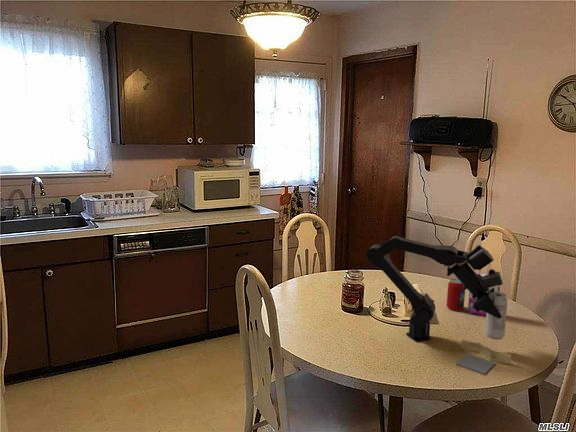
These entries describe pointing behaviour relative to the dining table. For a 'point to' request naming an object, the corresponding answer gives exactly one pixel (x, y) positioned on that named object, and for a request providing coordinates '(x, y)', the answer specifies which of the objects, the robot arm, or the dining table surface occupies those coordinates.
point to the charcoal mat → (475, 364)
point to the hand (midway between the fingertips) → (500, 314)
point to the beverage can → (455, 295)
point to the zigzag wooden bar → (486, 352)
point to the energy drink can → (494, 324)
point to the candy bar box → (471, 300)
